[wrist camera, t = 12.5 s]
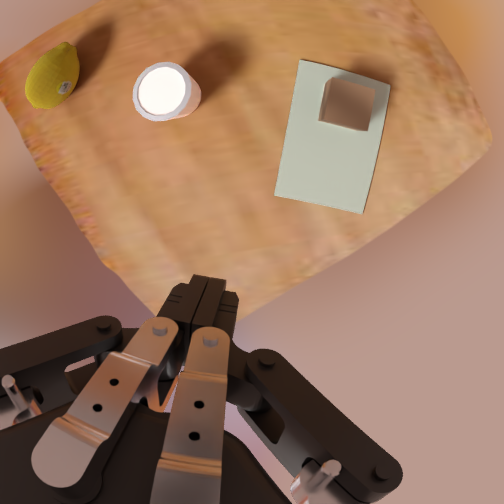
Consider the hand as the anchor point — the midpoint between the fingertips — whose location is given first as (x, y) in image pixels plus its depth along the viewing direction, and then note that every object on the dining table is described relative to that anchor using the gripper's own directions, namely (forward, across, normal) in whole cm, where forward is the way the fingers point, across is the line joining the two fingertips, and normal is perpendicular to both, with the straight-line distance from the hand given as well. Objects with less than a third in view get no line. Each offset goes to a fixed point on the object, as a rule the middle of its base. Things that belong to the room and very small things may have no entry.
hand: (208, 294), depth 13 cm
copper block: (+21, -9, -12) cm, 26 cm away
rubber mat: (+26, -9, -8) cm, 29 cm away
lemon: (+26, +30, -14) cm, 42 cm away
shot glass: (+26, +11, -11) cm, 30 cm away
